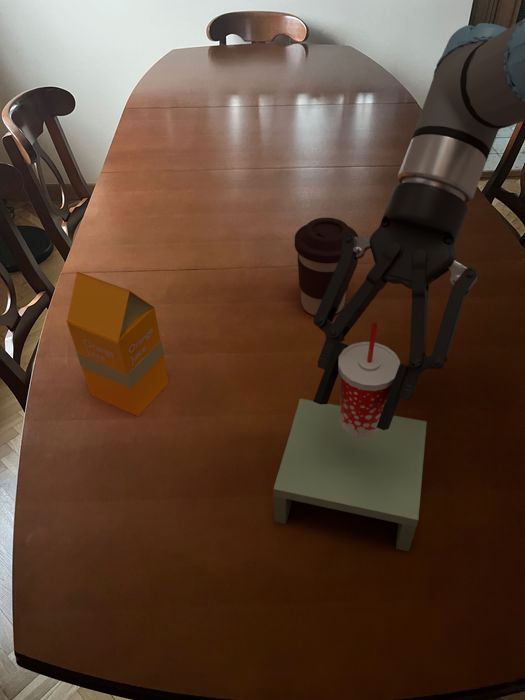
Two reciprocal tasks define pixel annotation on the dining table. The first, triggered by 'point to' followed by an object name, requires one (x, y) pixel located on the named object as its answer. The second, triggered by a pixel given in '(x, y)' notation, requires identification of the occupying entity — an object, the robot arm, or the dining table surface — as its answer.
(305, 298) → the coffee cup
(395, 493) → the shelf
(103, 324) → the orange juice
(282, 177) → the dining table surface
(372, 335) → the beverage cup
